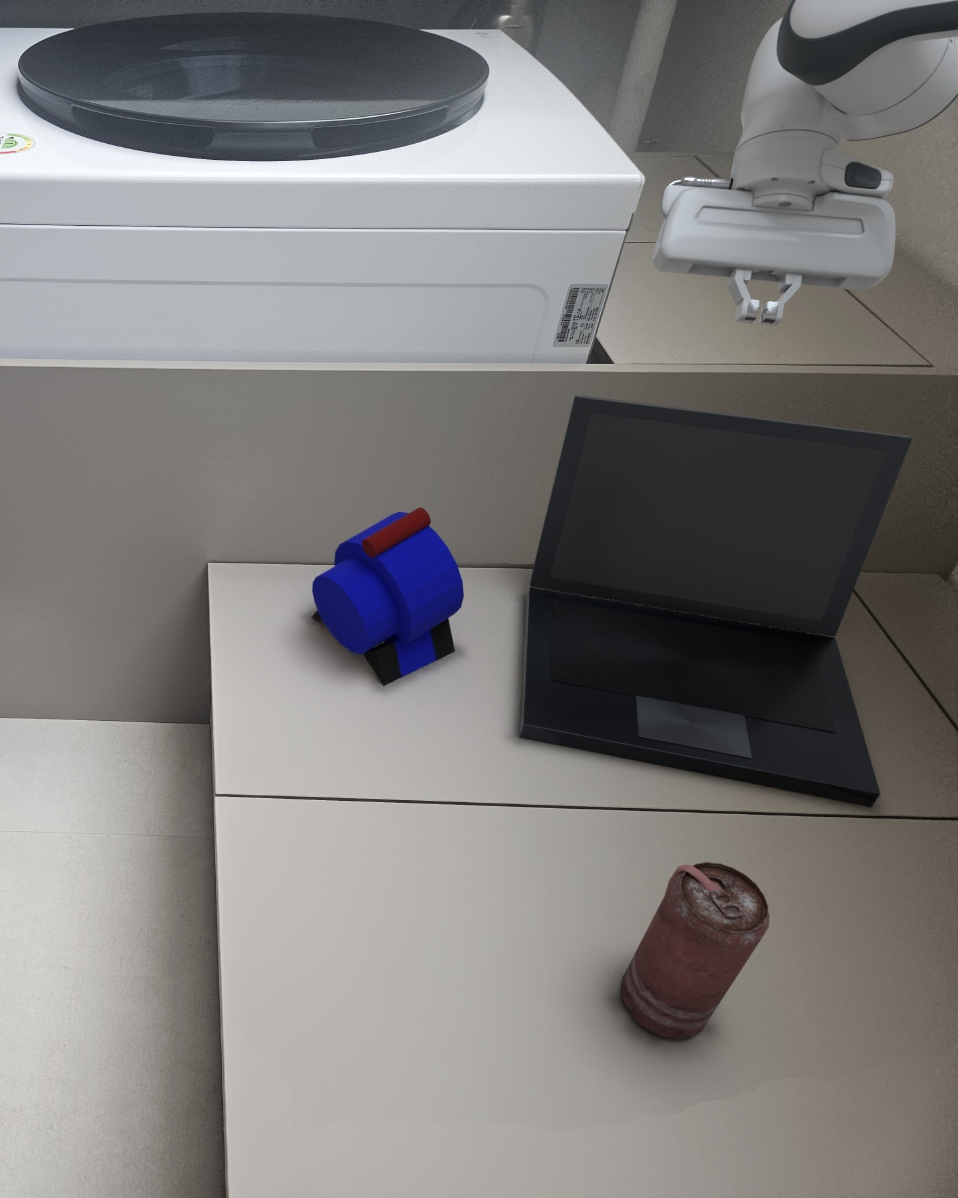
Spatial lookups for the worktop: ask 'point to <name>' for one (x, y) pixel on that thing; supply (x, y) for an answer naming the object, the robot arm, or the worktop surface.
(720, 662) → the laptop
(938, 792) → the worktop surface
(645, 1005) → the can
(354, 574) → the alarm clock
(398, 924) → the worktop surface
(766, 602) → the laptop screen
